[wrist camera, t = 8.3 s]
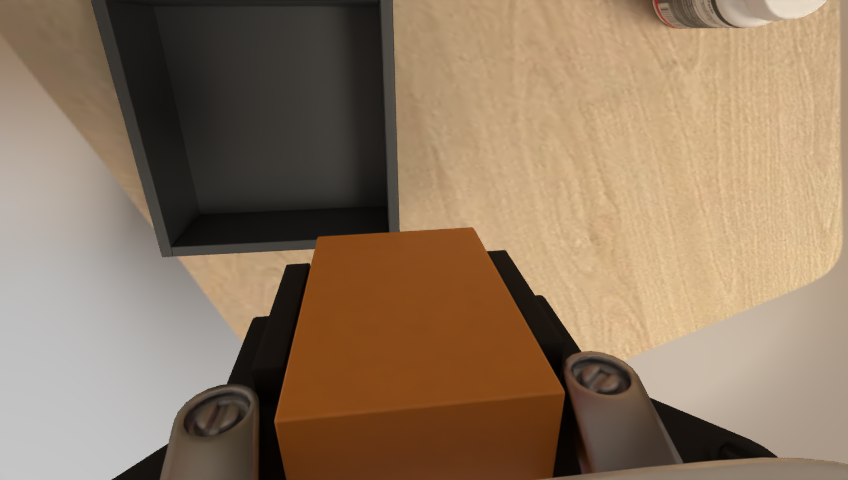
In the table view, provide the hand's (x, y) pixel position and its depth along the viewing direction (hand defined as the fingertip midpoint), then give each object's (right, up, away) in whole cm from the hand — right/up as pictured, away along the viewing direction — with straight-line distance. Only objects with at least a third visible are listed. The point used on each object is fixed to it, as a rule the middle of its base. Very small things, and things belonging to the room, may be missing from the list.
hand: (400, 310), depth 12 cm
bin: (-8, +9, +16) cm, 20 cm away
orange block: (0, 0, +1) cm, 1 cm away
